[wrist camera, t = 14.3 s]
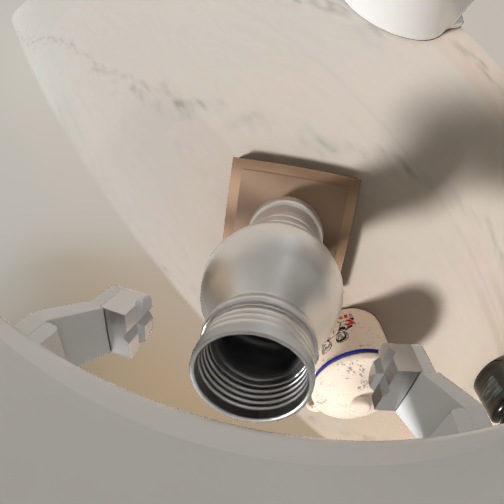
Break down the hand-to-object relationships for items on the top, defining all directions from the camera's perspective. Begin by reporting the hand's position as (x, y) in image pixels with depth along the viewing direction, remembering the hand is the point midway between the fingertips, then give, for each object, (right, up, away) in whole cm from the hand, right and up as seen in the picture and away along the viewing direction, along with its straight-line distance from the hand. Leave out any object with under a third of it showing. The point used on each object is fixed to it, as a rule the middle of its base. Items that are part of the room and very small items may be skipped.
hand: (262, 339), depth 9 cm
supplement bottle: (+39, -18, +20) cm, 47 cm away
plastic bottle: (+3, +5, +17) cm, 18 cm away
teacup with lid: (+10, -8, +22) cm, 26 cm away
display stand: (+3, +6, +19) cm, 20 cm away
